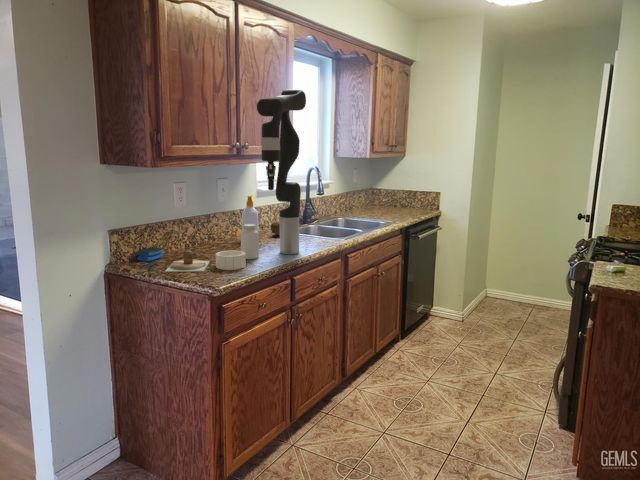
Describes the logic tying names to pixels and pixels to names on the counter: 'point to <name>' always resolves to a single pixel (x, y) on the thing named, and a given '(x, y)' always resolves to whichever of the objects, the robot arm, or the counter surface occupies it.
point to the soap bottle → (250, 214)
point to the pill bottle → (250, 241)
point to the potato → (275, 228)
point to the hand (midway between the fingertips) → (271, 189)
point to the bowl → (230, 260)
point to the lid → (188, 262)
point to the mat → (187, 270)
